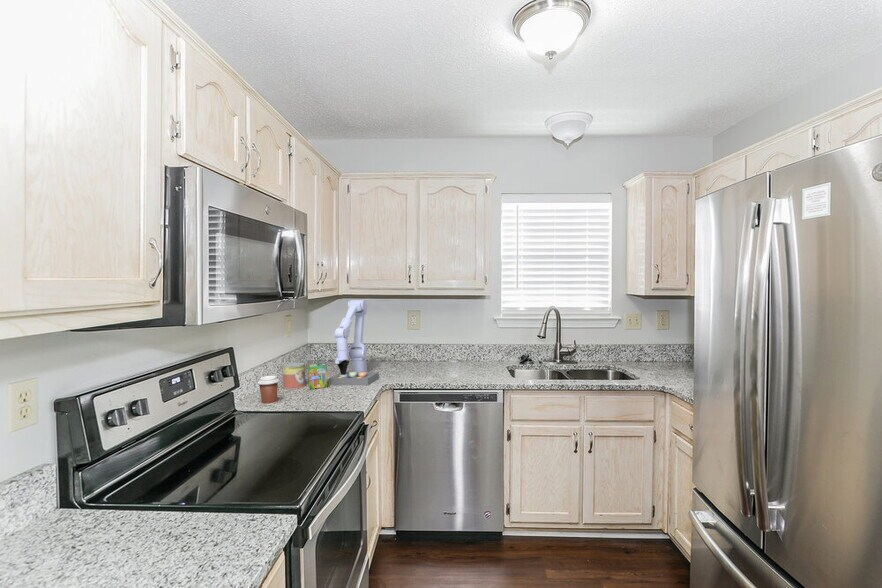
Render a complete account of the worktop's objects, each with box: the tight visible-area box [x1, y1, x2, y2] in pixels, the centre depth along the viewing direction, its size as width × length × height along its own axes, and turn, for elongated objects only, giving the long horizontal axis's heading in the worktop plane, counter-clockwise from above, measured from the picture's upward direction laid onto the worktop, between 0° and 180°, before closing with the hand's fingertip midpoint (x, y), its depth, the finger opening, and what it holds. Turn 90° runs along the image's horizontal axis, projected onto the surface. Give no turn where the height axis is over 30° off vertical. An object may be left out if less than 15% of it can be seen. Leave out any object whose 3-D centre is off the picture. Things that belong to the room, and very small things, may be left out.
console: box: [328, 371, 380, 386], centre depth 240 cm, size 16×22×4 cm
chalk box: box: [307, 358, 329, 390], centre depth 230 cm, size 9×9×15 cm
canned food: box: [281, 361, 307, 390], centre depth 232 cm, size 11×11×12 cm
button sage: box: [348, 371, 357, 377], centre depth 238 cm, size 4×4×3 cm
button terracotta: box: [359, 372, 366, 377], centre depth 236 cm, size 4×4×3 cm
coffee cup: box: [257, 375, 280, 406], centre depth 201 cm, size 9×9×12 cm
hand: (343, 374), depth 239 cm, fingers closed, pressing on button slate
